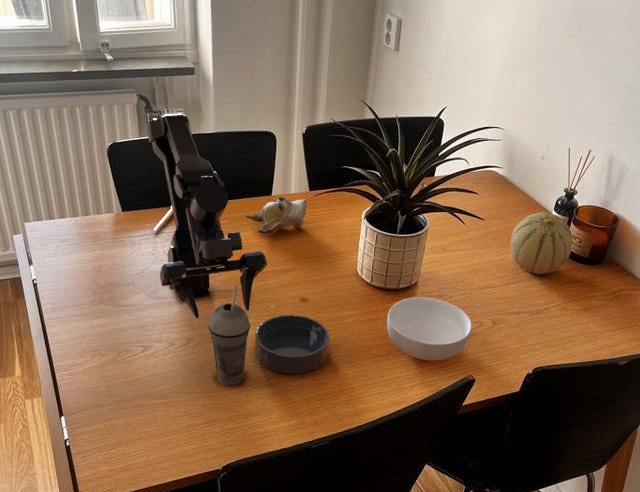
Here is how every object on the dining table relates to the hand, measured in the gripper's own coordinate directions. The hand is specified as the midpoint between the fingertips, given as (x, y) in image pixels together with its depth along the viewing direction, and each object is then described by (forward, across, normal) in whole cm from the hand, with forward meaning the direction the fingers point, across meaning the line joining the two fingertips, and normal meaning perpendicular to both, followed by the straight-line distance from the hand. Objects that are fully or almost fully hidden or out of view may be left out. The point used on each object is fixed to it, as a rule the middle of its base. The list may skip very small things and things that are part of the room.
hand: (222, 313), depth 127 cm
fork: (-38, +3, +54) cm, 66 cm away
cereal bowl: (+13, +40, +3) cm, 42 cm away
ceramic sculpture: (-29, +28, +44) cm, 60 cm away
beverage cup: (+11, 0, +5) cm, 12 cm away
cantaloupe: (-2, +82, +18) cm, 84 cm away
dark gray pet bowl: (+8, +13, +8) cm, 17 cm away
